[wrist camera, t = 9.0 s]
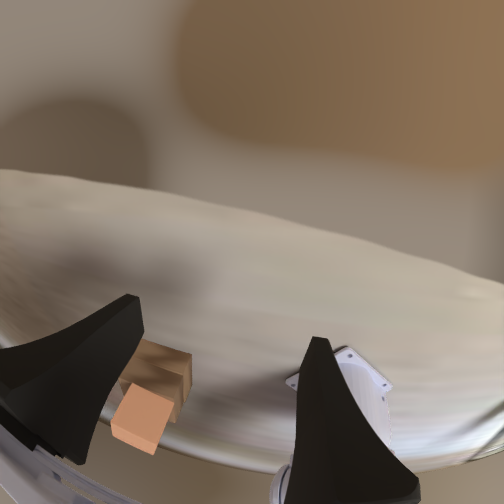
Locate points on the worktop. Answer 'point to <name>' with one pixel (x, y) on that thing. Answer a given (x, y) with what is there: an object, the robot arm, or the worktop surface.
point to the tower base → (167, 361)
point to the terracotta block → (141, 418)
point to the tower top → (154, 383)
